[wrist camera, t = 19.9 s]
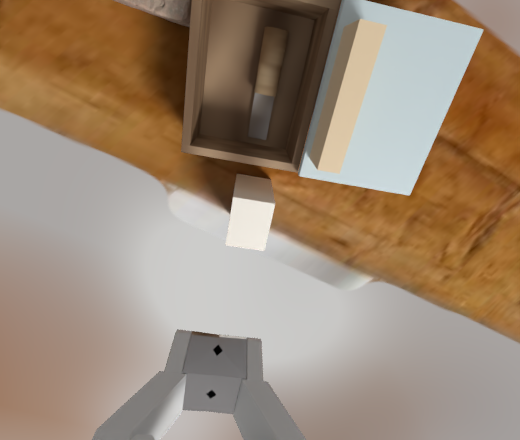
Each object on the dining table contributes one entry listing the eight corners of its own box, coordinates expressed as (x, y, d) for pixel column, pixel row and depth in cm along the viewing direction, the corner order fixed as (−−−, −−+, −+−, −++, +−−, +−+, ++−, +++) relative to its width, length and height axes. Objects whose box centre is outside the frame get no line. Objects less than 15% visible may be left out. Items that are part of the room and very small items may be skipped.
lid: (475, 31, 25) (523, 22, 21) (405, 192, 32) (430, 211, 27) (342, -2, 24) (363, -19, 19) (297, 173, 30) (305, 190, 26)
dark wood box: (322, 13, 30) (341, -2, 24) (289, 155, 37) (297, 172, 31) (206, -14, 29) (194, -38, 23) (193, 138, 36) (181, 152, 29)
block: (270, 179, 38) (275, 203, 31) (262, 219, 41) (264, 250, 34) (236, 173, 38) (233, 197, 31) (230, 214, 40) (225, 245, 33)
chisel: (287, 33, 30) (289, 30, 28) (266, 139, 35) (267, 143, 33) (264, 28, 30) (265, 25, 28) (246, 135, 35) (246, 139, 33)
